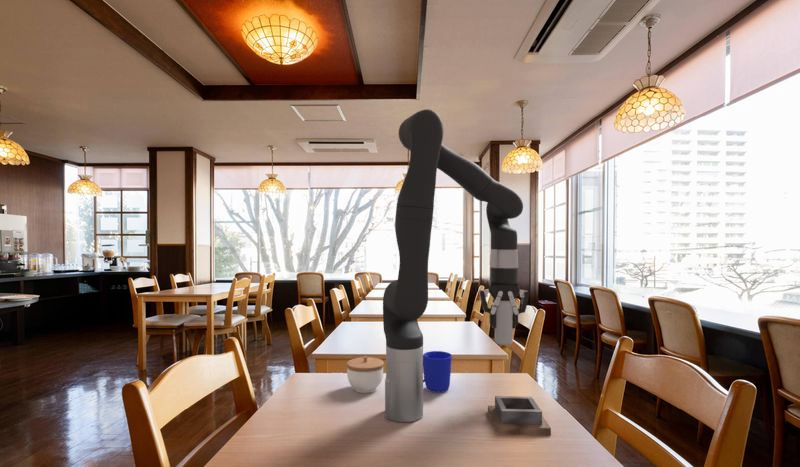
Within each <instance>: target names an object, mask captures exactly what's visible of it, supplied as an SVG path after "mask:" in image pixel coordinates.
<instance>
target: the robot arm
mask: <svg viewBox="0 0 800 467" xmlns="http://www.w3.org/2000/svg"><path fill="white" fill-rule="evenodd" d="M398 138H399V141H400V143H401V145H403V147H404V148H405V149H406V150H408V151H410V153H409V155H410V157H409V163H408V164H409V165H408V169H407V172H406V175H405V177H404V179H403V183H402V184H401V188H400V190H399V194H398V196H397V201H396V209H395V218H394V229H395V230H394V231H395V238H396V244H397V249H398V255H399V268H398V275H397V279H394V280H393V281H391V282H390V283H388V285H387V286H386V287H385V289H384V293H383V297H382V318H383V334H384V336H385V379H384V394H385V395H384V419H385V420H392V421H395V422H399V423H412V422H415V421H419V420H420V419H421V418H423V416H424V382H423V380H424V368H423V355H424V335H423V333H422V330H421V328H420V325H419V322H418V319H420V318H421V317H422V316H423V315H424V313H425V311H426V309H427V308H428V307H427V306H428V303H429V256H430V248H431V247H430V246H431V238H432V237H431V236H432V228H433V218H434V209H435V208H434V205H435V195H436V194H435V193H436V185H437V183H436V182H437V171H438V170H440V171H441V172H442V173H444V174H445V175H447V176H448V177H449V178H450V179H452V180H453V181H454V182H456V183H457V184H458V185H459V186H460V187H462V188H463V190H465V191H466V192H468V194H470V195H471V196H472V197H473V198H474V199H476V200H477V201H480V202H485V203H486V206H485V207H486V209H485V210H486V212H485V213H486V214H485V215H486V218H487V223H488V228H489V230H490V231H489V232H490V235H491V236H490V239H491V240H490V248H491V250H490V258H489V286H488V288H487V289H479V290H478V295H479V299H480V302H481V308H482V310H483V311H484V312H485V313H487V314H489V318H488V319H489V320H488V321H489V325H490V326H491V328H492V329H495V328H496V315H495V312H496V309H497V307H498V305H499V302H500V301H510V302H511V304H512V308H513V329H517V328H516V327H518V326H519V316H520V314H523V313H526V309H527V305H528V302H529V298H530V291H529V290H525V289H520V287H519V255H518V254H519V253H518V232H517V229H515V228H513V227H510V224H509V220H511V219H515V218H516V219H517V218H518V217H519V216H520V215H521V214H522V212H523V209H524V203H523V200H522V198H521V197H520V195H519V194H518V193H517V192H515V191H514V190H513V189H511V188H509V187H508V186H506V185H504V184H503V183H501V182H499V181H498V180H497V181H496V180H495V179H494V178H493V177H492V176H491V175H490V174H488V173H487V172H486V171H485V170H484V169H483V168H482V167H481V166H480V165H478V164H477V163H475V162H473V161H472V160H470V159H468V158H466V157H464V156H463V155H460V154H458V153H456V152H455V151H453V150H452V149H450V148H448V147H447V146H446V145H444V144H443V139H444V123H443V121H442V118H441V116H440V115H439V114H438V113H437V112H436V111H435V110H432V109H429V108H428V109H427V108H425V109H422V110H420V111H417V112H415V113H413V114H412V115H411V116H409V117H407V118H406V119H404V121H402V123H401V124H400V125H399V128H398ZM489 294H490V296H491V298H492V301H491V303H490V304H491V305H490V307H489V306H488V302H487V298H488V295H489ZM518 295H519V297H520V298H521V299H520V303H519V307H518V306H517V303H516V300H515V299H516V298H517V297H518Z"/></svg>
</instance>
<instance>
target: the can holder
mask: <svg viewBox="0 0 800 467" xmlns="http://www.w3.org/2000/svg"><path fill="white" fill-rule="evenodd" d="M487 412H488V416H489V418H490V420H491V421H490V422H491V423H492V425H493V428H494V430H495V434H496V435H532V436H534V435H535V436H536V435H539V436H541V435H542V436H551V435H552V428H551V427H550V425H549V423H548V422H547V421H546V419H545V417H544V416H543V411H542V410H541V408H540V407H539V405H538V404H537V402H536V401H535V399H534V398H533V396H517V395H515V396H511V395H510V396H509V395H504V396H503V395H494V405H487Z"/></svg>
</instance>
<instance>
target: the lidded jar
mask: <svg viewBox="0 0 800 467" xmlns="http://www.w3.org/2000/svg"><path fill="white" fill-rule="evenodd" d="M384 365H385V362H384V361H383V360H382V359H381V358H377V357H371V356H370V357H369V356H366V355H364V356H362V357H356V358H352V359H349V360H348V361H347V362H346V374H347V380H348V384H350V386H351V387H352V388H353V389H354V391H355V392H357V393H360V394H368V393H369V394H370V393H373V392H375V391H376V389H377V388H378V387H379V386H380V385H381V383H382V380H383V377H384Z"/></svg>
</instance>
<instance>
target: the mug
mask: <svg viewBox="0 0 800 467" xmlns="http://www.w3.org/2000/svg"><path fill="white" fill-rule="evenodd" d="M452 357H453V356H452V353H449V352H446V351H441V350H433V351H432V350H431V351H430V350H429V351H426V352H423V383H425V384H424V385H425V388H426V389H427V390H428V391H429V392H432V393H444V392H446V391H449V388H450V385H451V374H452V373H451V371H452V360H453V358H452Z"/></svg>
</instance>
